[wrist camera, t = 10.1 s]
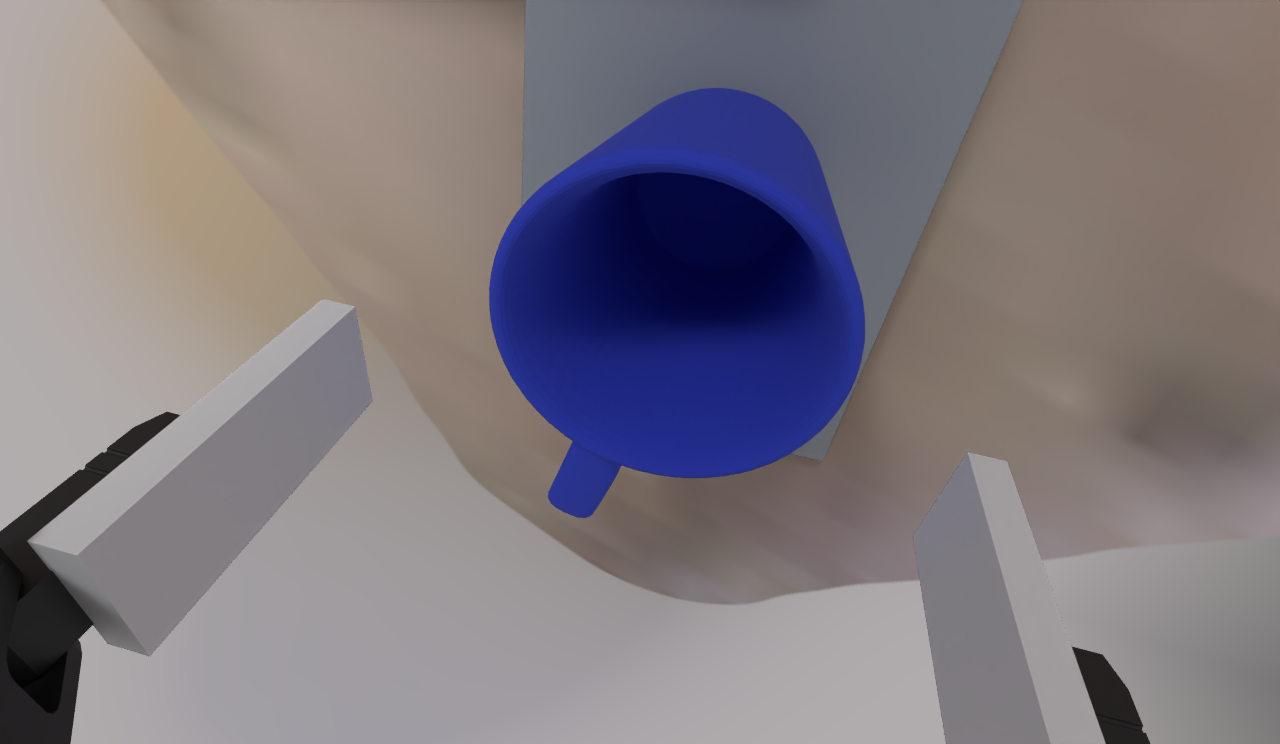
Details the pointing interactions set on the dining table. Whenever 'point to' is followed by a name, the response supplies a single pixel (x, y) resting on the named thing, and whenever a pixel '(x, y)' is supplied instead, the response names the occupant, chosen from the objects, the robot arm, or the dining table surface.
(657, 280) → the mug
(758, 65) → the board
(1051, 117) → the dining table surface
